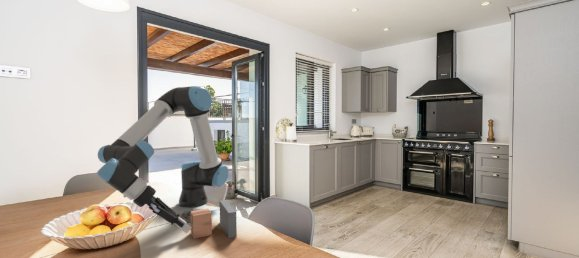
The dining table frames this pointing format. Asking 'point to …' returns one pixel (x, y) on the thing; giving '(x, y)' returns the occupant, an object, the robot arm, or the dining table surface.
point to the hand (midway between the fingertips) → (189, 229)
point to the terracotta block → (201, 223)
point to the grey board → (228, 218)
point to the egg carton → (186, 216)
